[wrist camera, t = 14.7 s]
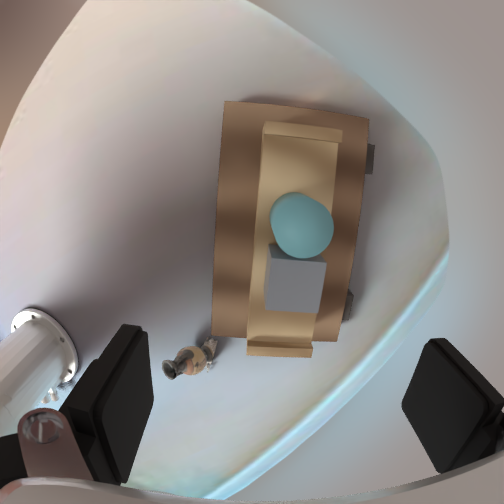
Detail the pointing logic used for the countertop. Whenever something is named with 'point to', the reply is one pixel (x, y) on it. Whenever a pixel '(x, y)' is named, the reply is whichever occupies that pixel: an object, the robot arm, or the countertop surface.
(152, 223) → the countertop surface
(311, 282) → the grey cube
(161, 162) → the countertop surface
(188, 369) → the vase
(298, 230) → the teal cylinder
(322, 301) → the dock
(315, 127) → the light wood long block
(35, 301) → the countertop surface
